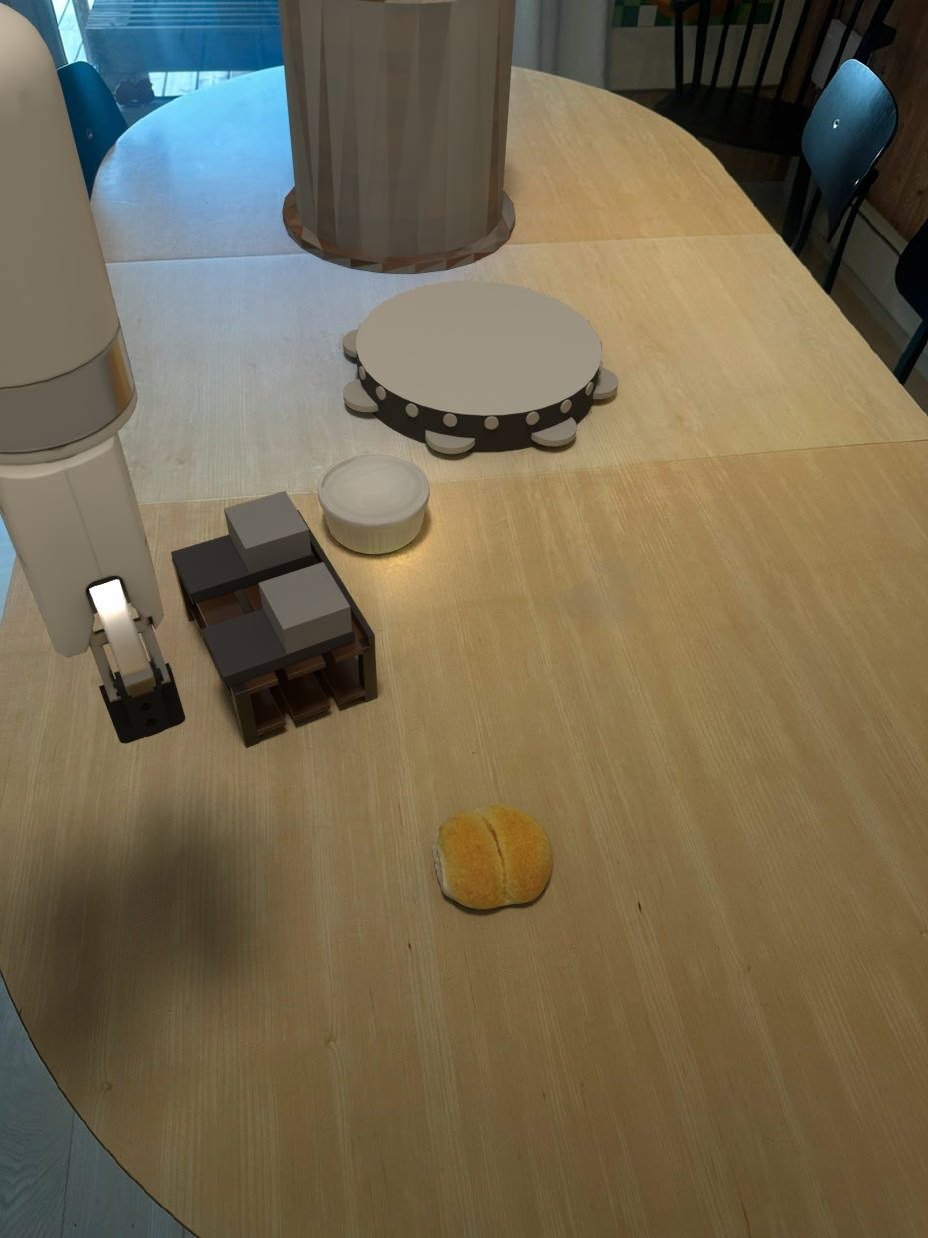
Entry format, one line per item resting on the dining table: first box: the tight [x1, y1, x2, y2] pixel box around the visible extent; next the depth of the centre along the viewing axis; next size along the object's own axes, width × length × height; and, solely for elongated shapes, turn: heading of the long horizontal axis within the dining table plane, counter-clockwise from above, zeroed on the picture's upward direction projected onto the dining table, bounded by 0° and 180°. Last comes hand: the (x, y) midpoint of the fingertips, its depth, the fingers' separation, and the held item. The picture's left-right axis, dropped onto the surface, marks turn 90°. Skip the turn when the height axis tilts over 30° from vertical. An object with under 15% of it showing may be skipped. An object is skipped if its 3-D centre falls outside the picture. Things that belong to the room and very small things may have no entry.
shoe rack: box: [171, 509, 379, 748], centre depth 84 cm, size 12×17×8 cm
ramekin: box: [317, 452, 431, 555], centre depth 98 cm, size 11×11×5 cm
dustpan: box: [201, 562, 355, 689], centre depth 78 cm, size 11×6×4 cm, turn 118°
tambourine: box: [342, 280, 619, 455], centre depth 116 cm, size 34×33×5 cm
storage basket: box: [277, 0, 517, 274], centre depth 135 cm, size 35×35×32 cm
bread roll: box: [432, 803, 554, 910], centre depth 73 cm, size 8×9×4 cm
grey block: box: [170, 490, 315, 605], centre depth 83 cm, size 11×6×4 cm, turn 118°
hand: (126, 660), depth 50 cm, fingers open, 9 cm apart
